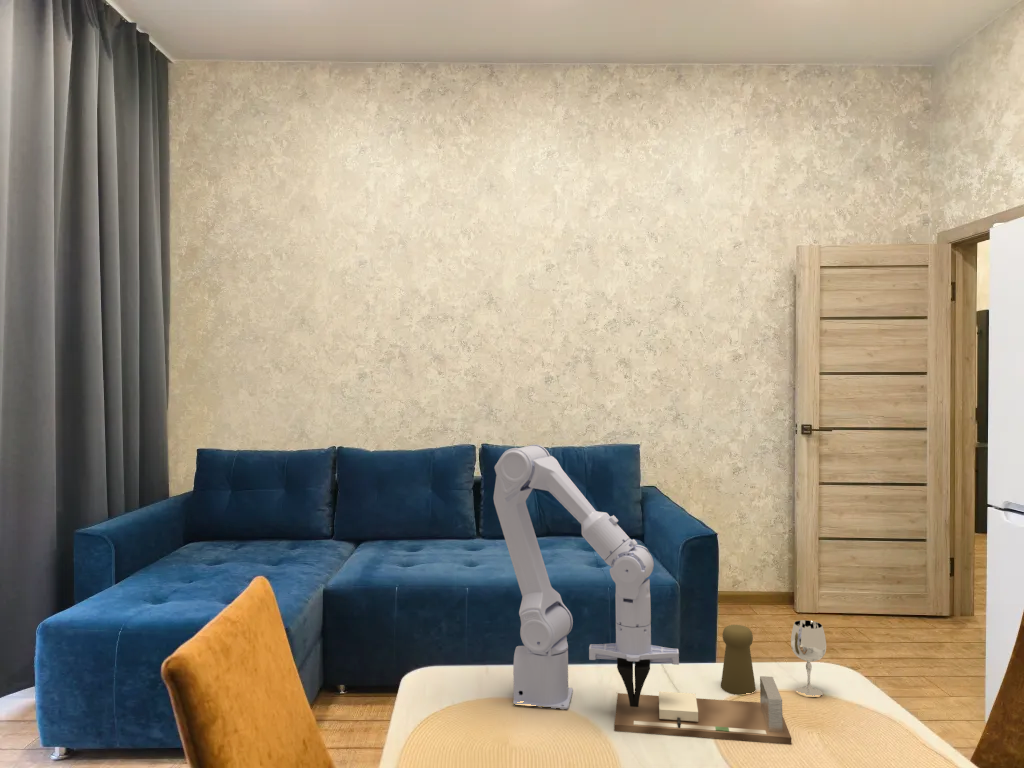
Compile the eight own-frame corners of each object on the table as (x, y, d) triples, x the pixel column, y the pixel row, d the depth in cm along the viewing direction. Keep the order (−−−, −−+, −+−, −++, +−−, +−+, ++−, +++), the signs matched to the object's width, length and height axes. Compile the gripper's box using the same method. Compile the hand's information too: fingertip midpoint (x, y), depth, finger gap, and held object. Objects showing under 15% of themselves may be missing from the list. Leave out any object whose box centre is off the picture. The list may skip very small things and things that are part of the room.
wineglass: (786, 693, 129) (785, 624, 129) (799, 683, 134) (798, 617, 134) (819, 702, 125) (818, 632, 125) (831, 691, 130) (830, 623, 130)
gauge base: (614, 730, 116) (614, 723, 116) (617, 698, 128) (617, 692, 128) (791, 744, 111) (791, 736, 111) (777, 709, 123) (777, 702, 123)
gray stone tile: (768, 731, 113) (768, 698, 113) (760, 706, 122) (760, 676, 122) (782, 732, 113) (782, 699, 113) (773, 707, 122) (772, 676, 122)
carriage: (659, 724, 115) (659, 714, 115) (659, 700, 124) (658, 691, 124) (699, 727, 114) (698, 717, 114) (695, 702, 123) (695, 693, 123)
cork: (758, 696, 128) (757, 633, 128) (722, 693, 129) (721, 631, 129) (753, 682, 134) (753, 622, 134) (719, 680, 135) (718, 620, 135)
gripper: (587, 627, 119) (588, 711, 119) (679, 632, 116) (680, 718, 116) (590, 614, 126) (591, 693, 126) (677, 618, 123) (678, 699, 123)
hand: (634, 704), depth 121 cm, fingers closed
